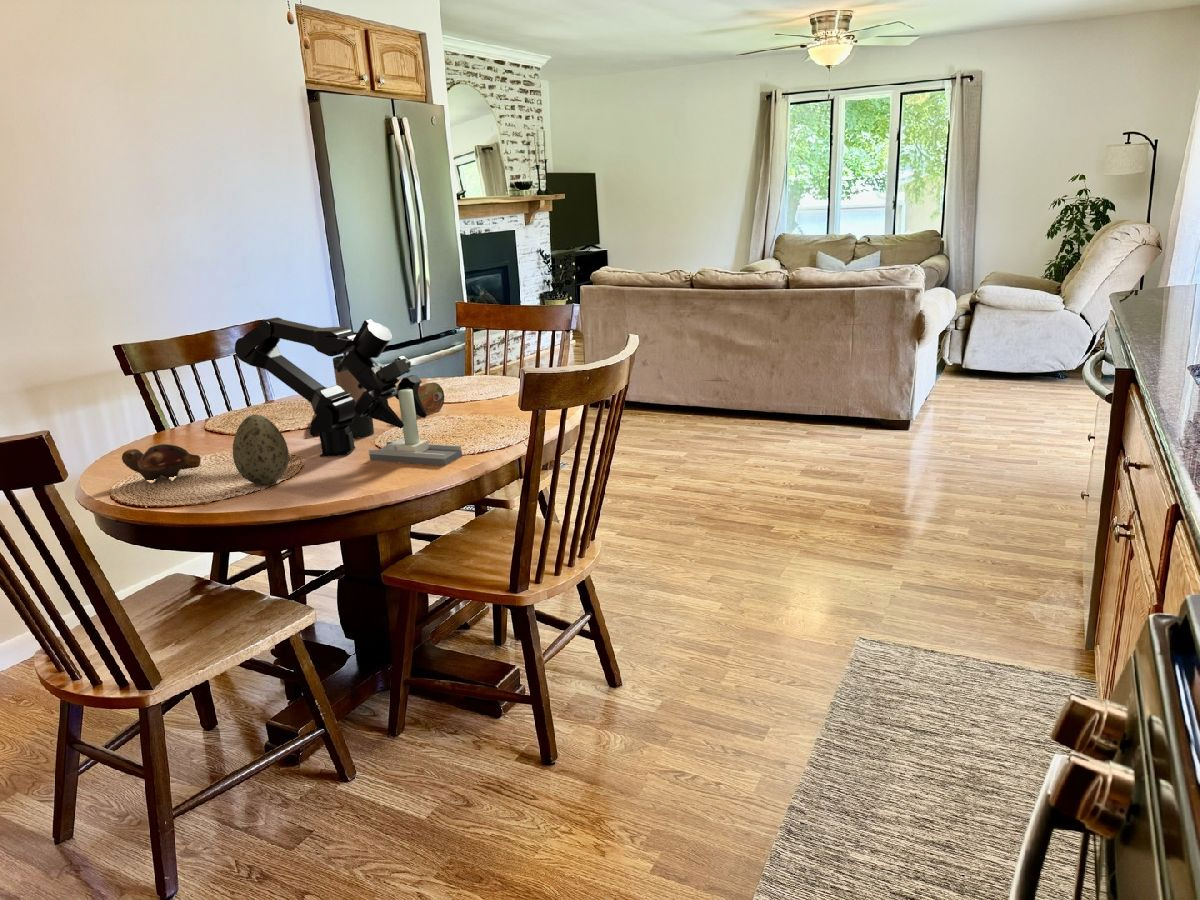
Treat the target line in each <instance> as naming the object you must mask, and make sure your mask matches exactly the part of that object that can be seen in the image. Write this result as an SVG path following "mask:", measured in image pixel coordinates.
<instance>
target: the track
mask: <svg viewBox="0 0 1200 900" xmlns="http://www.w3.org/2000/svg"><path fill="white" fill-rule="evenodd" d="M403 442H405V441H404V438H399V439H397V440H395V441H393V440H392V441H389V440H387V441H386V445H384V447H381V448H379V449H368V454H369V455H368V456H369V460H370V461H372V462H373V461H377V462H389V463H400V464H401V463H402V464H415V465H417V464H418V465H428V466H429V465H430V466H443V467H445V466H448V465H449V464H451V463H452V462H455V461H456V460H459V459H460V458H462V457H463V450H462V445H459V444H458V445H456V444H439V443H438V444H437V443H428V444H429V449H428V450H426V451H424V452H422V453H421V452H405V451H397V449H396V445H398V444H401V443H403Z"/></svg>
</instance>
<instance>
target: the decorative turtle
mask: <svg viewBox="0 0 1200 900" xmlns="http://www.w3.org/2000/svg"><path fill="white" fill-rule="evenodd" d="M121 461H122V463H123V464H124V465H125V466H126V467H127V468H128V469H130V470H131V471H133V472H136V473H139V474H140V475H141V476H142V478H143V479H144V480H145V481H146V480H154V479H157V478H158V479H159V478H160V477H163V478H165V477H166V479H167V478H169V477H174V476H177V477H178V475H179V472H180V471H181V470H188V469H195V468H199V467H200V466H201V456H200V455H199V454H193V453H192V454H191V453H189V452H188V450H186V449H184V447H182V446H178V445H174V444H169V443H168V444H156V445H154V446H151V447H148V448H147V450H146V451H145V452H144V453H143V452H141V451H140V450H139V449H137V448H131V449H127V450H125V451H124V452H123V454H122V455H121ZM158 479H157V480H158Z"/></svg>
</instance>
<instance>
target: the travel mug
mask: <svg viewBox="0 0 1200 900" xmlns="http://www.w3.org/2000/svg"><path fill="white" fill-rule="evenodd" d="M344 356H345V354H344V355H343V354H342V355H337V356H334V357H333V358H332V364H333V370H334V378H335V379H334V380H335V385H338V386H340V387H341V388H342V389H343V390H344V391H345V392H347V393H350V394H351V395H349V396H350V397H352V398H353V399H354V401H355V403H356V402H357V400H358V399H359V398H360V396H361V395H362V393H363V392H365V391H367V390H366V389H365V388H363V389H359V388H358V384H359V382H358V381H357V380H356V379H355V378H354V377H353V375H352V374H351V373H350V372H349V371H348V370H346V371H342V372H337V365H338V364H337V360H340V359H343V357H344ZM349 428H350V431H352V434H353V439H362V438H366V437H369V436H373V435H374V434H375V429H374V420H373V418H370V417H369V418H367V417H366V415H365V416H363V417H360V416H359V415H358V414H357V413H355V415H354V421H353V423H352V424H349Z"/></svg>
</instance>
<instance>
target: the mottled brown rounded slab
mask: <svg viewBox="0 0 1200 900" xmlns="http://www.w3.org/2000/svg"><path fill="white" fill-rule="evenodd" d="M418 395H419V398H420V401H421V403H422V405H423V407H424V409H425V412H426V414H427V416H430V415H432V414H436V413H438V412H440V410H442V408H443V406H444V403H445V393H444V390H443V387H442V386H441V385H440V384H439V383H437V382H433V381H432V382H425V383H422V384H420V387H419V389H418ZM419 419H423V418H422V417H420V416H419V415H417V414H416V420H419Z"/></svg>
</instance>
